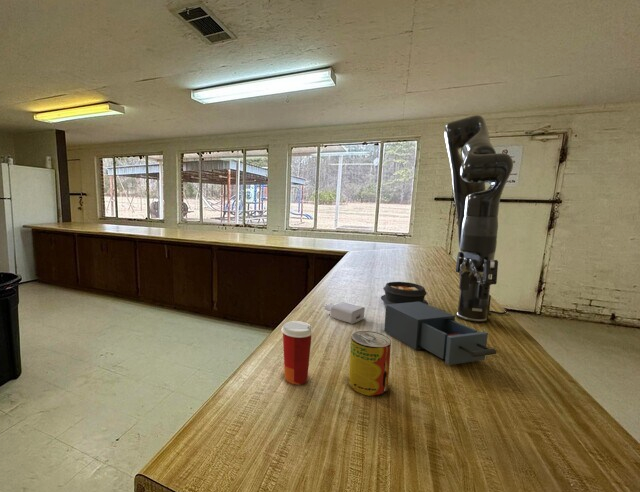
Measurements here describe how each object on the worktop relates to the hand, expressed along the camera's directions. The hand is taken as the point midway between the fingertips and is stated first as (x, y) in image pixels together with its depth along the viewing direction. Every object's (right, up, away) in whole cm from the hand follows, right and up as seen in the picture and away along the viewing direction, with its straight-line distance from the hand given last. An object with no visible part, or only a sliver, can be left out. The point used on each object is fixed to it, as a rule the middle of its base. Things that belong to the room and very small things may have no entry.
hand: (472, 294), depth 85 cm
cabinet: (-4, -17, +20) cm, 27 cm away
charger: (-23, -15, +40) cm, 49 cm away
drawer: (-1, -18, +7) cm, 20 cm away
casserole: (+8, -13, +54) cm, 56 cm away
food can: (-30, -21, -7) cm, 38 cm away
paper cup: (-47, -21, -4) cm, 52 cm away
